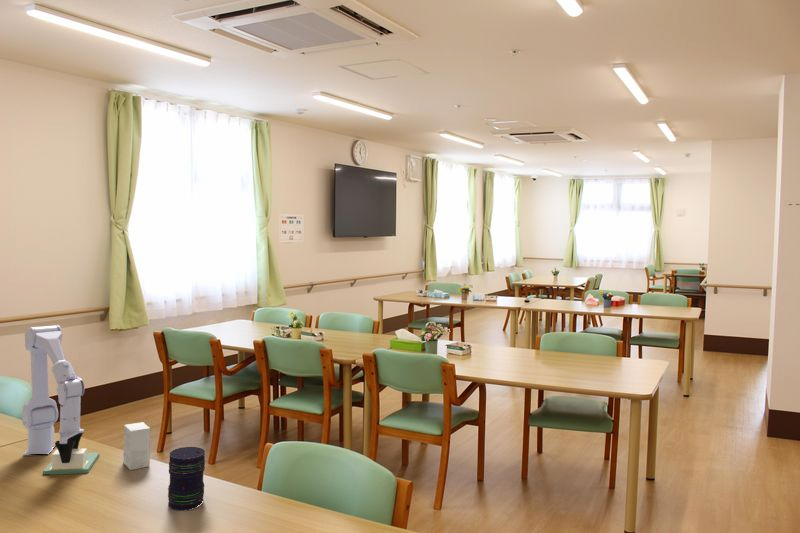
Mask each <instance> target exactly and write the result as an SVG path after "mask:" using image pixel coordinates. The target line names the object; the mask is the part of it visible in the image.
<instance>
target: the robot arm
mask: <svg viewBox="0 0 800 533" xmlns="http://www.w3.org/2000/svg"><path fill="white" fill-rule="evenodd" d="M62 341H63V329H62V327H61V325H59V324H54V325H46V326H45V325H44V326H43V325H42V326H41V325H40V326H28V327H27V329H26V331H25V333H24V343H25V344H24V347H25V351H29V353H30V366H31V367H30V373H31V399H29V400H28V401H27V402H26V403H25V404H23V405H22V414H21V421H22V425H23V426H24V427H25V428H27V449H26V451H25V452H23V454H22V456H30V455H29V454H48V455H49V453H50V452H51V453H52V452H53V450H54V449H55V448H56V450H57V449H58V451H59V454H60V458H61V461H62V463H69V462H70V459H71V453H72V449H79V445H80V441H81V438H82V436H83V435H84V431H85V429H84V428H81V402H82V401H81V400H82V399H81V397H83V396H84V394H85V383H84V380H83V379H82V378H80V376H78V375H76V372H75V369H74V368H73V365H72V363H71V362H70V361H68V360H66V358H65V355H64V351H63V348H62V345H61V344H62ZM48 357H49V359H50V361H51V362H52V364H53V366H52V367H51V372H52V374H53V377H54V378H55V379H54V380H55V381H56V383H57V387H56V393H57V396H58V403H59V404H60V406H59V407H60V410H58V406H57V402H56V400H55V399H53V398H50V397H49V396H50V395H49V369H48ZM58 418H59V431H58V435H59V440H56V441H55V427H54V426H55V423H56V422H57V421H58ZM54 444H55V446H56V447H55V448H54V447H52V446H53V445H54ZM53 448H54V449H53ZM25 453H26V454H25Z"/></svg>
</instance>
